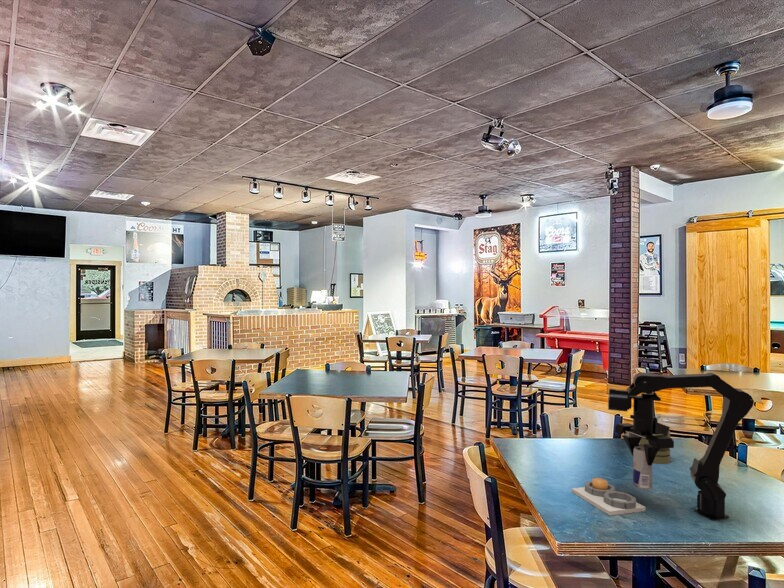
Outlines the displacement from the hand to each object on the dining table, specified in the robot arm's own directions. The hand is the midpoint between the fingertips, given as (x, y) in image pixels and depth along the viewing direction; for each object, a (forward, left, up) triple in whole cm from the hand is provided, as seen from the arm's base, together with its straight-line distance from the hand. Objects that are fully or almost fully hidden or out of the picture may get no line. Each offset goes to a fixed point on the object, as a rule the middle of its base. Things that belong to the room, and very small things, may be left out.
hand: (642, 462), depth 150 cm
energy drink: (0, 0, -8) cm, 8 cm away
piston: (+35, -39, -13) cm, 54 cm away
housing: (+5, +9, -13) cm, 17 cm away
